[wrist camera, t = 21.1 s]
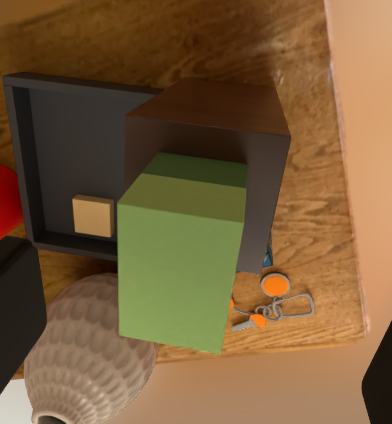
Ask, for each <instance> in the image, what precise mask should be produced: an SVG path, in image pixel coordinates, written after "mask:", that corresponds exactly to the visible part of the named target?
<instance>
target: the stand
mask: <svg viewBox="0 0 392 424" xmlns="http://www.w3.org/2000/svg"><path fill="white" fill-rule="evenodd" d="M290 141H291V135H290V132H289V129H288V125H287V122H286V119H285V116H284V113H283V110H282V107H281V104H280V101H279V98H278V94H277V91H276V88H269V87H261V86H252V85H244V84H236V83H227V82H219V81H210V80H202V79H193V78H183V79H182V80H180V81H178V82H177V83H175V84H174V85H172V86H170V87H169V88H167V89H166V90H164V91H162V92H161V93H159V94H158V95H156V96H154V97H153V98H151V99H150V100H148V101H147V102H145V103H143V104H142V105H140V106H139V107H137V108H135V109H134V110H132V111H131V112H129V113H127V114H126V115H125V192H126V191H127V190H128V189H129V188H130V186H131V185H132V184H133V183H134V181H135V180H136V179H137V178H138V177H139V175H140V174H141V173H142V172H143V170H144V169H145V168H146V167H147V166H148V164H149V163H150V162H151V161H152V160H153V158H154V157H155V156H156V155H157V153H158V152H163V153H170V154H177V155H185V156H192V157H199V158H206V159H213V160H221V161H228V162H235V163H242V164H247V165H248V175H247V189H246V204H245V218H244V227H243V232H242V238H241V244H240V249H239V255H238V261H237V266H236V271H241V272H247V273H253V274H259V275H260V274H261V273H262V268H263V264H264V259H265V254H266V250H267V245H268V241H269V236H270V232H271V227H272V223H273V218H274V214H275V209H276V205H277V200H278V196H279V191H280V187H281V182H282V178H283V173H284V169H285V164H286V159H287V155H288V150H289V146H290Z"/></svg>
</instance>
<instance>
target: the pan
mask: <svg viewBox="0 0 392 424" xmlns="http://www.w3.org/2000/svg"><path fill="white" fill-rule="evenodd" d="M2 77H3V84H4V92H5V98H6V105H7V112H8V118H9V125H10V131H11V138H12V145H13V151H14V158H15V164H16V171H17V178H18V184H19V191H20V198H21V204H22V211H23V217H24V224H25V231H26V237H27V239H29V240H30V241H31V242H32V245H33V246H36V248H39V249H45V250H50V251H56V252H62V253H68V254H74V255H80V256H85V257H91V258H97V259H103V260H109V261H115V262H118V237H117V202H118V201H119V200H120V199H121V197H122V196H123V195H124V194H125V115H126V114H127V113H129V112H131V111H132V110H134V109H135V108H137V107H139V106H140V105H142V104H143V103H145V102H147V101H148V100H150V99H151V98H153V97H154V96H156V95H158V94H159V93H161V92H162V91H164V89H158V88H150V87H141V86H133V85H125V84H117V83H109V82H101V81H93V80H84V79H76V78H68V77H60V76H52V75H44V74H35V73H27V72H20V73H15V74H9V75H3V76H2ZM76 195H85V196H92V197H99V198H106V199H113V200H114V233H113V235H112V236H111V237H104V236H98V235H91V234H85V233H78V232H75V223H74V212H73V200H72V199H73V198H74V197H75V196H76Z"/></svg>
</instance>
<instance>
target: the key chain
mask: <svg viewBox="0 0 392 424" xmlns="http://www.w3.org/2000/svg"><path fill="white" fill-rule="evenodd" d="M290 287H291V284H290V281H289V279H288V278H287V277H286V276H285V275H282V274H280V273H271V274H268V275H266V276H265V277H264V278H263V279H262V281H261V289H262V291H263V292H264V293H265V294H266V295H268V296H270V297H275V298H274V300H273V303H272V304H268V305H266V306H265V305H260V306H258V307H257V308H256V309H255V313H247V312H243V311H241V310H239V309H237V308H236V307H235V306H234V301H233V299H232V298H231V300H230V306H229V309H231V308H233V309H234V310H235V311H237V312H239V313H241V314H244V315H250V316H249V320H248V321H245V322H243V323H240V324H237V325H234V326H232V327H231V329H232V330H233V331H238V330H240V329H241V330H243V328H244V329H247V328H248V326H249V327H253V326H257V327H262V326H264V325H265V324H266V319H267V320H269V321H277V320H280V318H295V317H307V316H311V315H313V314H314V311H315V305H314V302H313V299H312V298H311V296H310V295H309V294H308V293H307V292H305V293H300V294H298V295H295V296H292V297H288V298H285V299H282V296H284V295H286V294H287V293H288V292H289V290H290ZM298 296H307V297H308V299H309V301H310V304H311V312H309V313H305V314H293V315H283V311H282V309H281V307H280V306H278V305H276V304H279V303H281V302H282V301H286V300H289V299H292V298H295V297H298ZM277 297H280V298H281V300H276V301H275V299H276V298H277ZM270 306H272V307H273V311H274V314H275V316H276V317H277V318H275V319H271V318H269V316H270V315H271V313H272V311H271V309H270V308H269V307H270ZM276 307H277V308H278V309H279V311H280V315H279V314H278V312H277V310H276ZM259 308H263V315H262V314H259V313H258V312H257V310H258V309H259ZM266 309H268V310H269V314H267V315H266Z"/></svg>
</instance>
